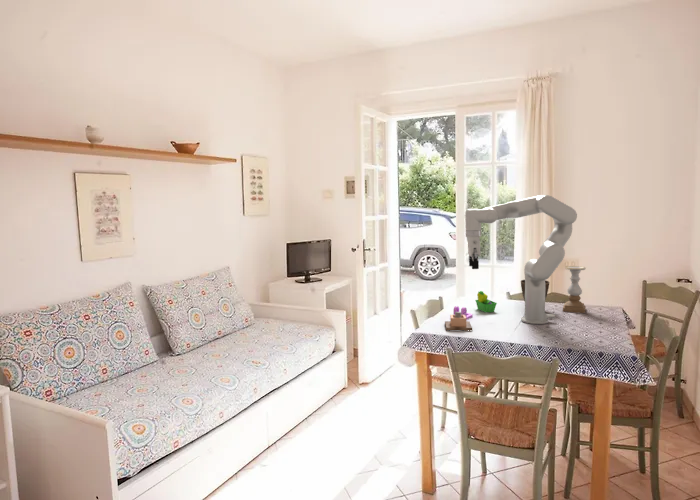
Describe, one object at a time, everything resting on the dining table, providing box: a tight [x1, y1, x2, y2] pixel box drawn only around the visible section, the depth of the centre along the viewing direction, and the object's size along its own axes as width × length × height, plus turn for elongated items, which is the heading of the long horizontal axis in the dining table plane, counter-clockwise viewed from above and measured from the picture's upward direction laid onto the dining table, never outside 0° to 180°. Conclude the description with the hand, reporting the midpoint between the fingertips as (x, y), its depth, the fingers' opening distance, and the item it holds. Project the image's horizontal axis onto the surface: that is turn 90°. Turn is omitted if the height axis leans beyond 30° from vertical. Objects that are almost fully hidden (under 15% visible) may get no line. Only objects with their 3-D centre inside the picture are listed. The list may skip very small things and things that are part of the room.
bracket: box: [453, 305, 474, 321], centre depth 256 cm, size 13×6×7 cm, turn 142°
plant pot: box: [520, 279, 550, 302], centre depth 270 cm, size 15×15×16 cm
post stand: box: [444, 311, 473, 332], centre depth 238 cm, size 12×12×8 cm
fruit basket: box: [475, 290, 498, 313], centre depth 271 cm, size 11×9×11 cm
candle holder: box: [562, 265, 587, 314], centre depth 267 cm, size 11×11×24 cm
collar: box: [449, 314, 467, 327], centre depth 238 cm, size 7×7×4 cm
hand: (473, 267), depth 247 cm, fingers open, 9 cm apart
